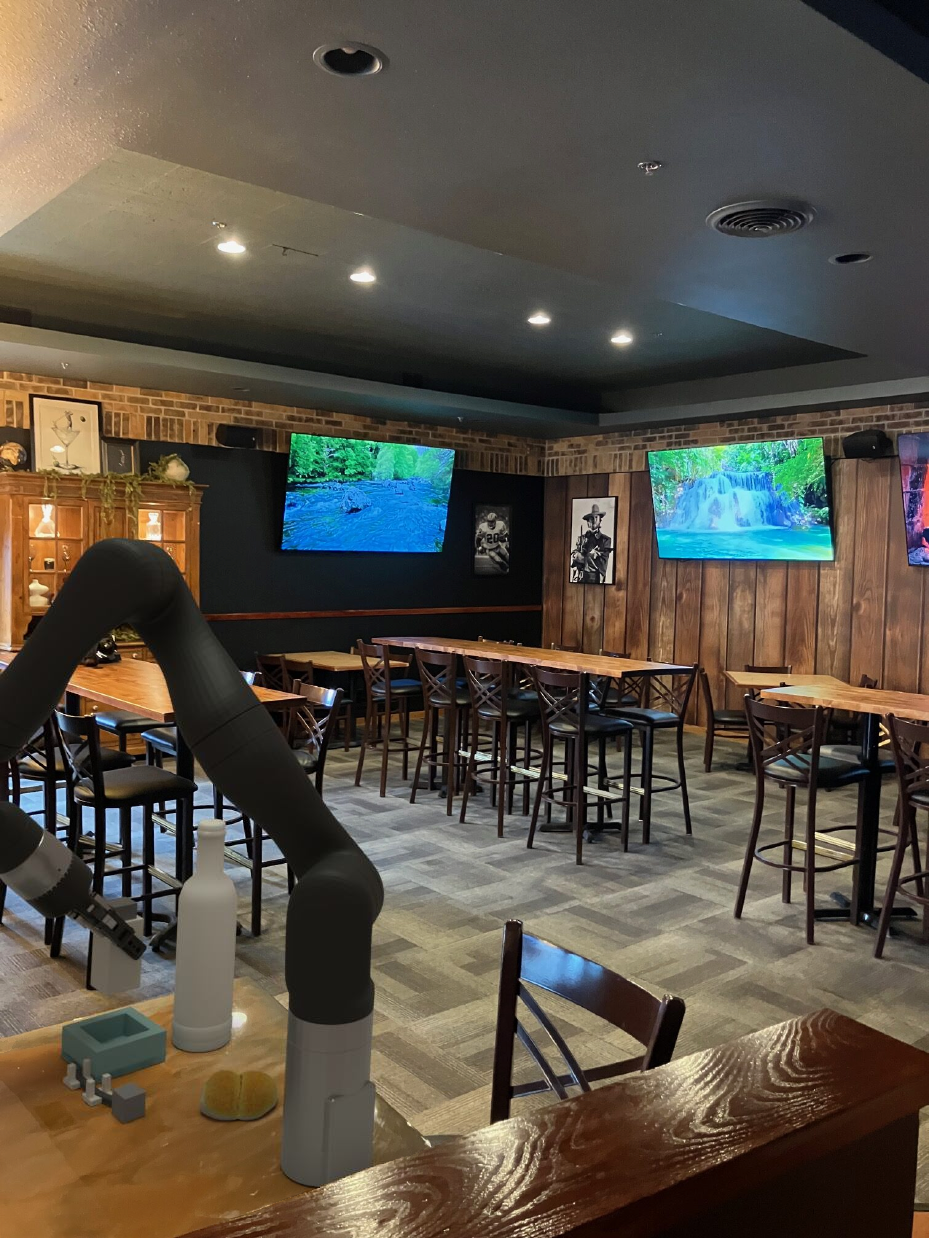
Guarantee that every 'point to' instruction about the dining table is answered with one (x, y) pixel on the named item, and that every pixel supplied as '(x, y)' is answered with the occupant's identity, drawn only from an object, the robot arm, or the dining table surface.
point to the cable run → (107, 1093)
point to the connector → (117, 954)
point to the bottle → (205, 948)
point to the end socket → (114, 1043)
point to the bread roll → (238, 1095)
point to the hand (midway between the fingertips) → (131, 947)
